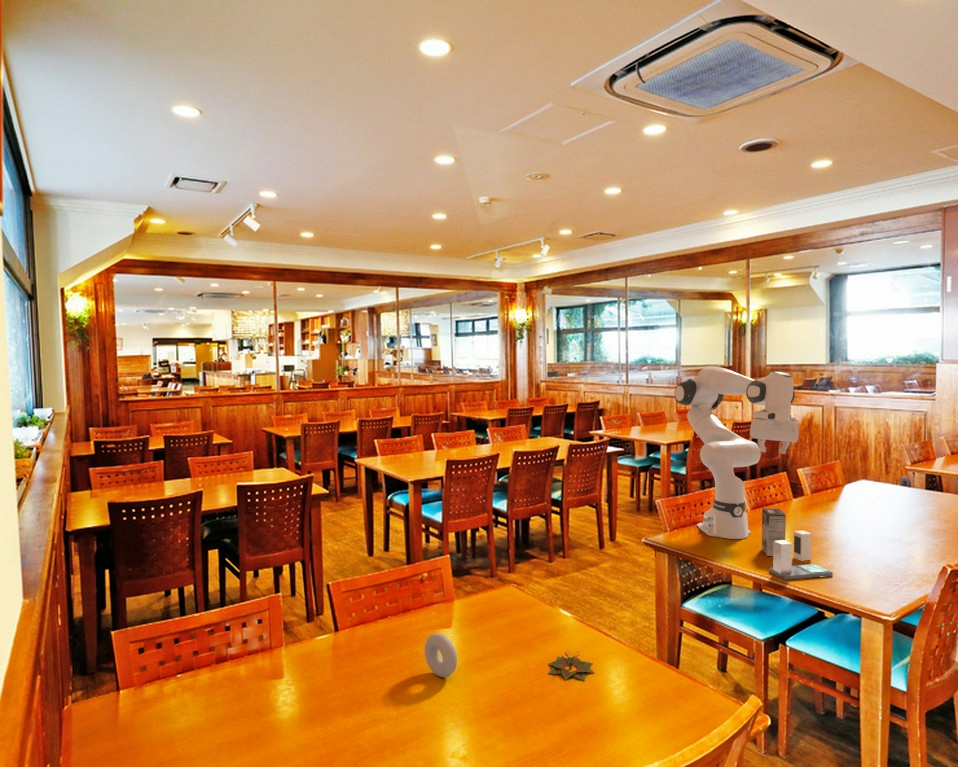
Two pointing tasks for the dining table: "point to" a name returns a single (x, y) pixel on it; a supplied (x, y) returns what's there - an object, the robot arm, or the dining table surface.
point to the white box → (802, 545)
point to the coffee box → (772, 528)
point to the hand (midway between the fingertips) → (772, 452)
